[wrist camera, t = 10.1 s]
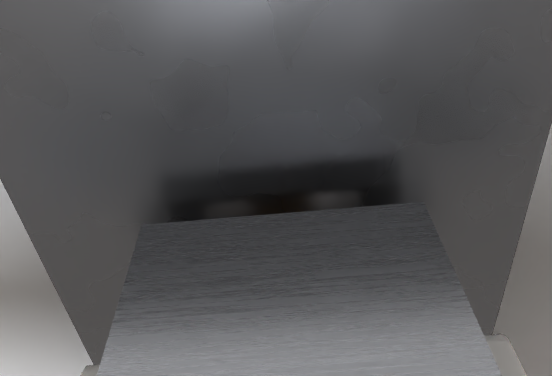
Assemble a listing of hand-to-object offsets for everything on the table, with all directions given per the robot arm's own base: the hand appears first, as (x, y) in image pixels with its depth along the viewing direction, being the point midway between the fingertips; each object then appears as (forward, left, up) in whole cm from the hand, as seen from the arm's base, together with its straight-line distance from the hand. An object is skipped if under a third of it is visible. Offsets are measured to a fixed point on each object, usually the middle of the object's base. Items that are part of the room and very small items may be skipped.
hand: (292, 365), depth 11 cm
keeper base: (0, 0, -4) cm, 4 cm away
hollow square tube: (0, 0, -2) cm, 2 cm away
